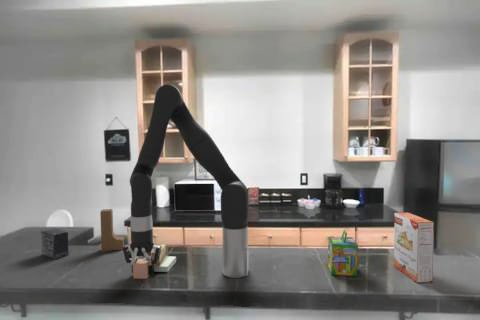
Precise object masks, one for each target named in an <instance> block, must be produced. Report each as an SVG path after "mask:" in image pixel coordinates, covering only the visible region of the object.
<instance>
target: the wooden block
mask: <svg viewBox="0 0 480 320" xmlns="http://www.w3.org/2000/svg"><path fill="white" fill-rule="evenodd" d="M113 211H114V210H113V209H112V208H106V209H101V210H100V212H99V215H100V239H101V240H100V243H101V252H113V251H112V250H114V251H121V250H122V251H123V247H124V246H125V237H124V236H117V235H116V233H115V232H114V217H113V216H114V215H113V214H114V213H113Z"/></svg>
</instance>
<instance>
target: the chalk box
mask: <svg viewBox="0 0 480 320" xmlns="http://www.w3.org/2000/svg"><path fill="white" fill-rule="evenodd" d="M358 249H359V244H358V242H357V241H356V240H355V239H354V237H348V232H347V231H346V230H343V231H342V234H341V236H333V235H332V236H330V235H329V236H328V237H327V267H328V270H329V271H330V274H331V276H347V277H348V276H349V277H358V257H359V256H358V255H359V250H358Z"/></svg>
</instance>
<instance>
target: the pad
mask: <svg viewBox="0 0 480 320" xmlns="http://www.w3.org/2000/svg"><path fill="white" fill-rule="evenodd" d="M143 259H145V257H144V258H143ZM176 263H177V256H170V255H166V258H165V259H164V261H163V262H162V263H161V265H160V266H154V272H161V273H163V272H164V273H168V272H170V270H171V269H172V268H173V266H174V265H175V264H176Z"/></svg>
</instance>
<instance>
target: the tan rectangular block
mask: <svg viewBox="0 0 480 320" xmlns="http://www.w3.org/2000/svg"><path fill="white" fill-rule="evenodd" d="M154 245H155V246H161V247H162V248H161V253H160V257H159V261H158V262H157V263H156V264H154V266H160V265H161V263H162V262H163V261H164V259H165V258H166V256H167V244H166V243H165V244H164V243H163V244H155V243H154ZM151 252H152V255H153V259H154V256H155V252H154V249H152V251H151Z"/></svg>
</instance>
